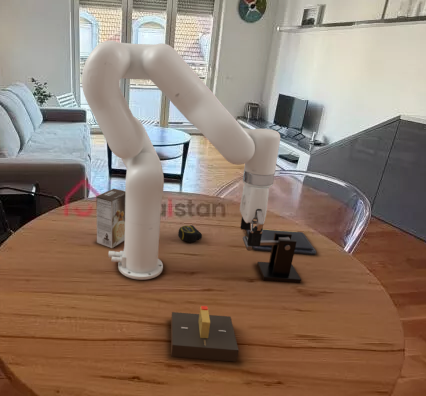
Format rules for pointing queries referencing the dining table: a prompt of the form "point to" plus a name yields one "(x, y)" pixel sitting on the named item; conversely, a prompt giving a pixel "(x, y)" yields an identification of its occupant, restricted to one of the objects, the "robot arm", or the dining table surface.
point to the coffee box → (111, 218)
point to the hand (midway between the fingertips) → (249, 237)
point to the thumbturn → (204, 322)
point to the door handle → (263, 242)
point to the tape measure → (189, 234)
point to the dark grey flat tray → (301, 240)
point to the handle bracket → (280, 261)
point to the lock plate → (203, 347)
